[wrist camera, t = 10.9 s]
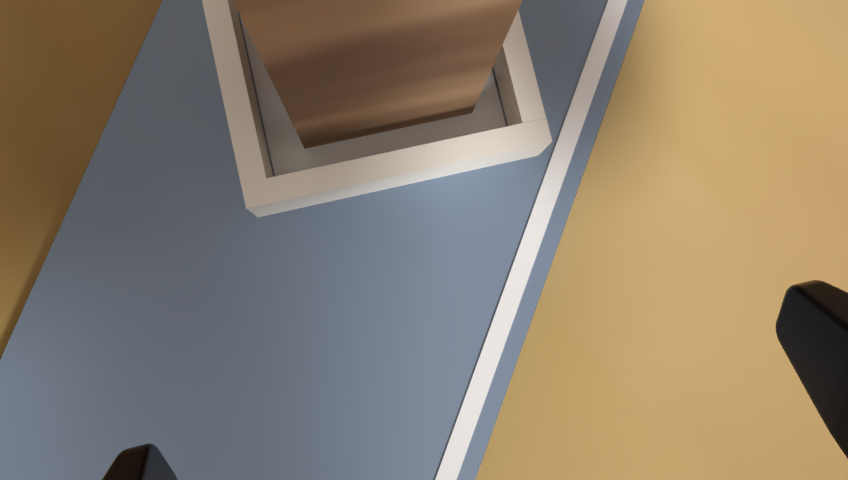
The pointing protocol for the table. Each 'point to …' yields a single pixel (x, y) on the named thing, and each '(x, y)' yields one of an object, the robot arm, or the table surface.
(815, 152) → the table surface
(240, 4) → the pillar
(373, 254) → the blueprint board
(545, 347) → the table surface
